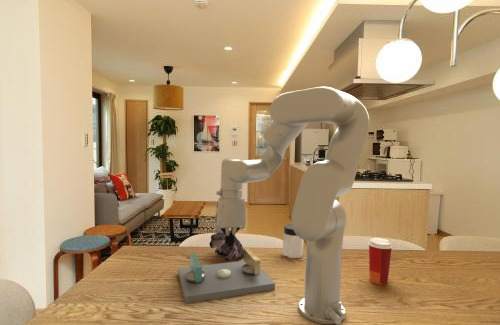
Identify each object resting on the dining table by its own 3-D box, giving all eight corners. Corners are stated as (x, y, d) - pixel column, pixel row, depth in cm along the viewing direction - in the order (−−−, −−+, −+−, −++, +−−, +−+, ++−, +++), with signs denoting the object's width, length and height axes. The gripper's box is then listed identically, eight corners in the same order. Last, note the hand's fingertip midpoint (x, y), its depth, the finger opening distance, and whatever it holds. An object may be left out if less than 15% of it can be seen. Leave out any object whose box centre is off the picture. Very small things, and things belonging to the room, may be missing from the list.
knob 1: (208, 285, 90) (208, 266, 89) (188, 288, 88) (188, 268, 87) (201, 269, 101) (201, 252, 101) (184, 272, 99) (184, 254, 99)
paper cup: (388, 277, 103) (390, 238, 102) (392, 288, 95) (395, 246, 95) (364, 274, 105) (366, 236, 104) (367, 284, 98) (369, 243, 97)
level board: (274, 289, 93) (275, 278, 93) (185, 303, 84) (185, 291, 83) (253, 264, 112) (253, 255, 112) (178, 273, 102) (178, 264, 102)
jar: (307, 255, 122) (308, 227, 121) (294, 260, 117) (295, 230, 116) (291, 249, 129) (292, 222, 128) (278, 253, 124) (279, 225, 123)
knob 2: (265, 277, 96) (266, 259, 96) (248, 280, 94) (248, 261, 94) (253, 263, 107) (253, 247, 107) (237, 265, 105) (238, 248, 105)
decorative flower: (224, 241, 108) (210, 221, 120) (212, 268, 110) (199, 245, 122) (255, 245, 116) (239, 226, 129) (243, 270, 118) (228, 248, 130)
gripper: (212, 196, 96) (210, 251, 97) (255, 195, 101) (252, 247, 102) (208, 192, 103) (206, 243, 104) (248, 191, 108) (246, 240, 109)
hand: (229, 245), depth 103 cm, fingers closed
